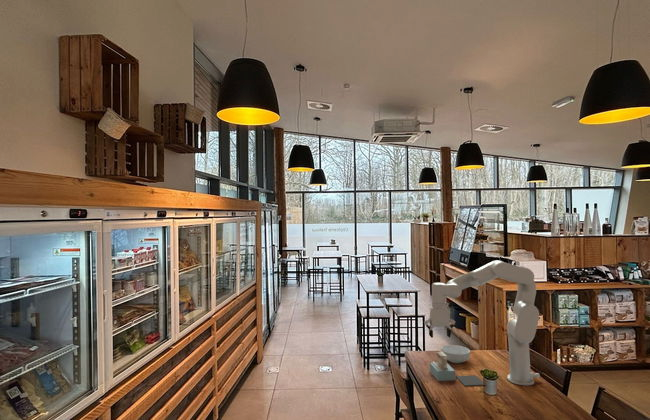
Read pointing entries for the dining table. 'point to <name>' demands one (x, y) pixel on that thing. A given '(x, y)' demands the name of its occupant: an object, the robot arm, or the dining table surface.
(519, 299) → the robot arm
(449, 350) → the cereal bowl
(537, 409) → the dining table surface
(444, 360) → the cream tall block
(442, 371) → the dispenser
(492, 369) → the dining table surface
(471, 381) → the mat
